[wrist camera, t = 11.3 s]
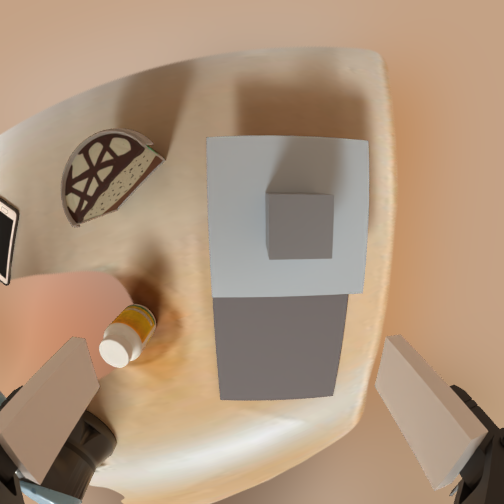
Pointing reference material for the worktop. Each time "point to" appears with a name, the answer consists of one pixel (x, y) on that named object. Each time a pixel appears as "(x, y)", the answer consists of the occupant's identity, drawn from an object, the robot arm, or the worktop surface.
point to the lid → (287, 215)
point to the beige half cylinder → (106, 173)
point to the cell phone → (7, 239)
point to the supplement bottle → (127, 335)
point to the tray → (278, 346)
